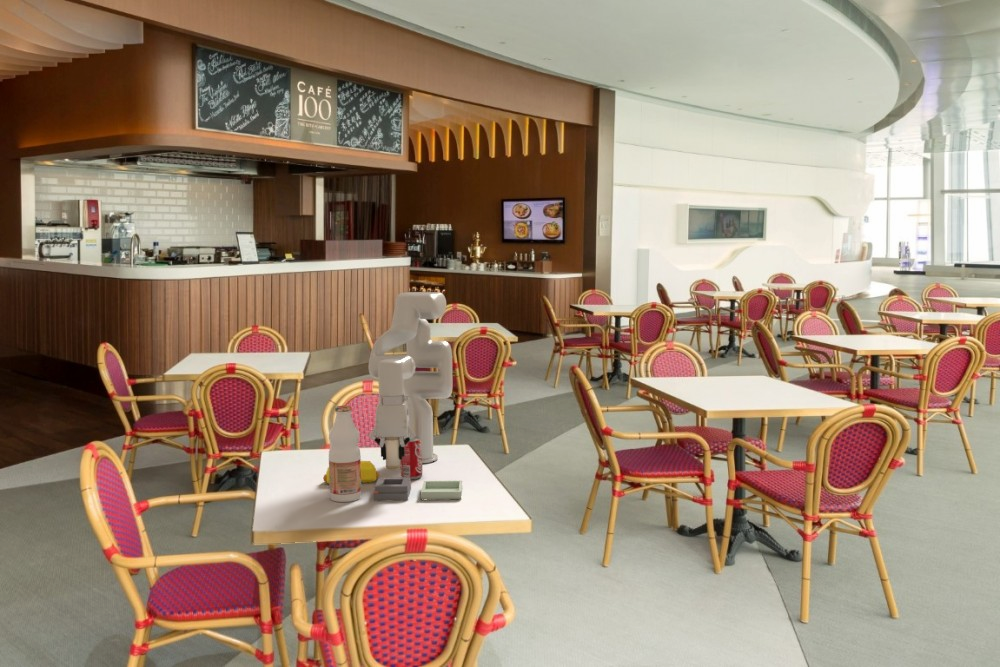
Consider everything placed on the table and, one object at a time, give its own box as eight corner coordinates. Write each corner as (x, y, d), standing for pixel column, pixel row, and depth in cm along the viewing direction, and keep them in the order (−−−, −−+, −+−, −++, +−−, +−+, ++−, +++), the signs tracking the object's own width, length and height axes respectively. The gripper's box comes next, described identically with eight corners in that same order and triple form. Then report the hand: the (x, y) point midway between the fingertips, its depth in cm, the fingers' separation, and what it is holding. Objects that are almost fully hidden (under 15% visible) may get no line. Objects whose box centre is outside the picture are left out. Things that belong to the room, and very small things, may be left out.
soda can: (418, 481, 274) (418, 441, 272) (397, 479, 275) (396, 440, 274) (425, 475, 281) (424, 436, 279) (404, 474, 282) (403, 435, 281)
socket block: (378, 489, 265) (378, 476, 265) (411, 488, 265) (410, 476, 265) (373, 500, 253) (373, 487, 253) (407, 500, 253) (407, 487, 253)
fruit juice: (323, 499, 255) (320, 407, 252) (345, 491, 262) (343, 402, 259) (345, 504, 249) (342, 411, 246) (367, 496, 257) (365, 406, 254)
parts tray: (423, 488, 265) (423, 480, 265) (462, 488, 265) (462, 480, 265) (421, 500, 253) (421, 492, 253) (461, 499, 253) (461, 491, 253)
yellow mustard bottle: (323, 480, 276) (323, 487, 268) (322, 460, 275) (322, 466, 267) (378, 477, 279) (380, 483, 272) (378, 457, 279) (380, 463, 271)
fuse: (386, 465, 261) (385, 433, 260) (401, 465, 261) (400, 433, 260) (385, 469, 257) (384, 437, 255) (399, 469, 257) (398, 437, 255)
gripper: (420, 397, 260) (421, 455, 262) (365, 397, 260) (366, 455, 262) (418, 402, 253) (419, 461, 255) (361, 403, 252) (363, 462, 255)
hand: (392, 458), depth 259 cm, fingers closed on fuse, 4 cm apart
